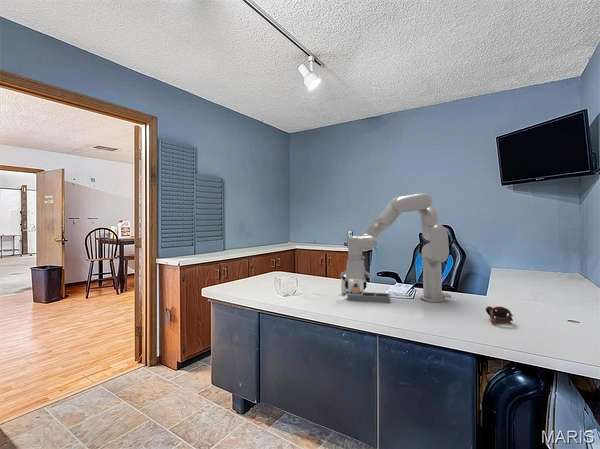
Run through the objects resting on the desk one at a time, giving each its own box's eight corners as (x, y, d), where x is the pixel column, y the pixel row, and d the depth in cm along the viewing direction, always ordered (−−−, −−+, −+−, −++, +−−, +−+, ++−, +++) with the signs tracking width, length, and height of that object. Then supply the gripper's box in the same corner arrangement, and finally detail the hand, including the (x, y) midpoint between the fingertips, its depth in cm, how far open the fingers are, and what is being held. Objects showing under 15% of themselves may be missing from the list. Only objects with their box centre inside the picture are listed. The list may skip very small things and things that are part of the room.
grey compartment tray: (389, 301, 173) (389, 292, 173) (389, 305, 165) (389, 296, 165) (349, 299, 180) (349, 290, 180) (347, 303, 172) (347, 294, 172)
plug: (360, 298, 176) (359, 283, 176) (359, 300, 172) (358, 284, 172) (352, 297, 177) (352, 282, 177) (351, 299, 173) (351, 284, 173)
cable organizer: (357, 297, 184) (357, 277, 184) (340, 295, 189) (340, 276, 188) (364, 291, 198) (363, 272, 197) (347, 289, 202) (347, 271, 202)
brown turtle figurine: (518, 325, 135) (518, 311, 132) (504, 337, 133) (503, 324, 129) (492, 310, 146) (491, 297, 142) (478, 322, 143) (476, 309, 140)
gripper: (371, 257, 175) (372, 287, 176) (340, 256, 180) (341, 286, 181) (370, 259, 168) (371, 291, 168) (338, 258, 173) (339, 289, 173)
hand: (355, 288), depth 174 cm, fingers open, 9 cm apart
